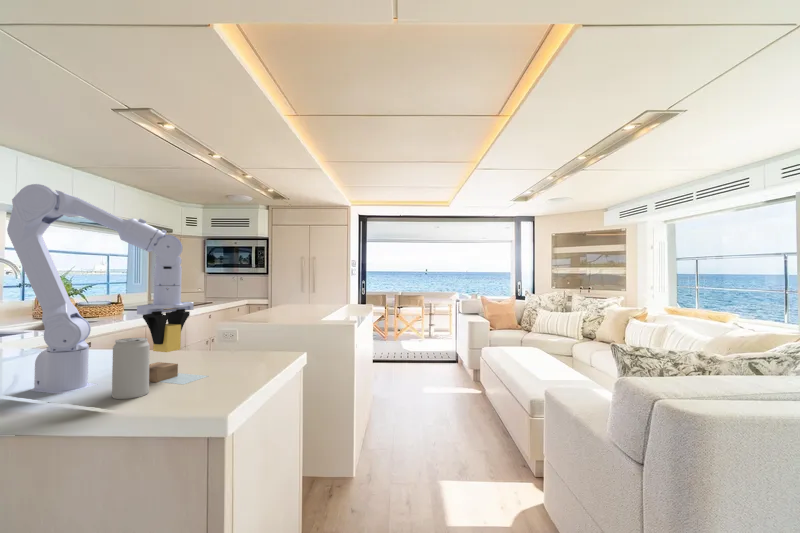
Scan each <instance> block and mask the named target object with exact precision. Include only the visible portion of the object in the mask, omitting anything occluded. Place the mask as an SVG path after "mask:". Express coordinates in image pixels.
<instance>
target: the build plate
mask: <svg viewBox="0 0 800 533" xmlns="http://www.w3.org/2000/svg"><path fill="white" fill-rule="evenodd" d="M207 377H209V375H203V374H193V373H190V374H189V373H180V372H178V376H177V377H173V378H170V379H166V380H163V381H160V382H159V383H165V384H166V383H167V384H174V385H175V384H176V385H187V384H189V383H192V382H196V381H198V380H201V379H204V378H207Z"/></svg>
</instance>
